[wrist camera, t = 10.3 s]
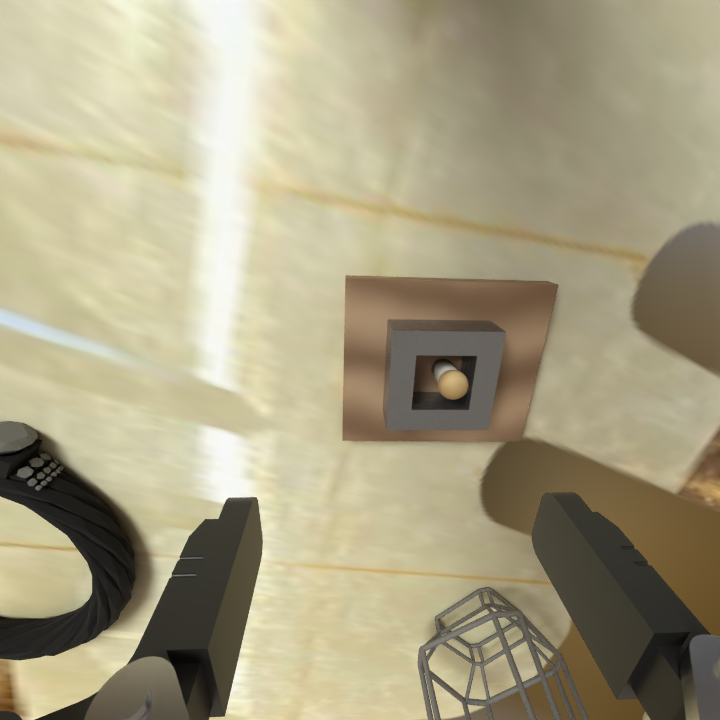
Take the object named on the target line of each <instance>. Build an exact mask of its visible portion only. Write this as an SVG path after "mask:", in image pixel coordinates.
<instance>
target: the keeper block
mask: <svg viewBox="0 0 720 720" xmlns="http://www.w3.org/2000/svg"><path fill="white" fill-rule="evenodd" d="M557 288H558V284H554V283H551V282H548V281H515V280H481V279H447V278H413V277H379V276H346V286H345V337H344V388H343V441H521V438H522V434H523V430H524V425H525V421H526V417H527V413H528V409H529V405H530V400H531V396H532V392H533V388H534V384H535V380H536V376H537V371H538V367H539V363H540V359H541V355H542V351H543V346H544V342H545V338H546V334H547V330H548V326H549V322H550V317H551V313H552V309H553V305H554V301H555V297H556V292H557ZM388 319H411V320H490V321H492V322H493V323H494V324H496V325H497V326H499V327H500V328H502V329H503V330H504V331H506V338H505V343H504V348H503V354H502V359H501V365H500V370H499V375H498V381H497V386H496V391H495V397H494V402H493V408H492V413H491V418H490V424H489V429H488V430H386V425H385V420H384V415H383V393H384V375H385V357H386V338H387V320H388ZM461 361H462V356H426V355H416V365H415V376H414V387H413V392H440V393H441V394H442V395H443V396H444V397H445V398H447V399H452V400H455V399H459V398H461V397H463V396H464V395H465V394H466V392H467V390H468V380H467V378H466V376H465V375H464V374H463V373H462V372H460V368H461Z"/></svg>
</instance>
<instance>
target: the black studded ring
mask: <svg viewBox="0 0 720 720" xmlns="http://www.w3.org/2000/svg"><path fill="white" fill-rule="evenodd" d="M37 438H38V435H37V432H36V430H35V429H33V428H31V427H30V426H28V425H26V424H23V423H19V422H12V421H6V422H0V496H1V497H3V498H6V499H9V500H11V501H14V502H17V503H19V504H22V505H24V506H26V507H27V508H29V509H31V510H32V511H34V512H35V513H37V514H38V515H40V516H41V517H42V518H44V519H45V520H47V521H48V522H49V523H51V524H52V525H54V526H55V527H56V528H58V529H59V530H61V531H62V532H63V533H65V534H66V535H67V536H68V537H69V538H70V540H71V541H72V542H73V544H74V545H75V546H76V548H77V549H78V550H79V552H80V553H81V554H82V556H83V557H84V558H85V560H86V561H87V563H88V565H89V568H90V571H91V573H92V595H91V597H90V599H89V600H88V601H87V602H86V603H85V604H84V605H83V606H82V607H81V608H79V609H77V610H75V611H73V612H70V613H67V614H64V615H60V616H57V617H54V618H49V619H23V620H14V619H7V618H4V617H0V659H10V660H25V659H32V658H39V657H43V656H55V655H57V654H60V653H62V652H65V651H67V650H69V649H72V648H74V647H77V646H79V645H80V644H84V643H87V642H89V641H91V640H92V639H94V638H96V637H97V636H98V635H99V634H100V633H101V632H102V631H103V630H106V629H108V628H109V627H110V626H111V625H112V624H113V623H114V622H115V621H117V620H118V618H119V615H120V612H121V611H122V610H123V608H124V607H125V606H126V604H127V603H128V601H129V600H130V599H131V590H132V588H133V585H134V582H135V572H134V564H133V562H134V552H133V550H132V547H131V545H130V542H129V540H128V539H127V537H126V536H125V535H124V534H123V531H122V529H121V527H120V525H119V523H118V521H117V518H116V516H115V515H114V514H113V512H112V511H111V510H110V509H109V508H108V507H107V505H106V504H104V503H103V502H101V501H100V500H99V499H98V498H97V497H96V496H94V495H93V494H92V493H91V492H90V491H89V490H88V489H87V488H86V487H85V486H84V485H83V484H82V483H81V482H79V481H77V480H75V479H73V478H71V477H70V476H68V475H66V474H64V473H62V472H61V471H62V470H63V469H64V467H63V466H61V465H60V466H59V467H58V468H57V469H55V468H56V466H57V465H58V464H60V463H59V462H58V461H57V460H55V459H54V460H53V461H52V462H50V463H49V464H47V462H49V461H50V460H51V457H50V455H48V454H46V453H40V455H39V456H37V457H35V458H34V455H35V454H36V452H37V450H38V449H39V447H40V445H41V443H42V441H43V440H40V439H37Z"/></svg>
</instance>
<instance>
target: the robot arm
mask: <svg viewBox="0 0 720 720" xmlns="http://www.w3.org/2000/svg"><path fill="white" fill-rule="evenodd" d="M532 543H533V547H534V550H535V553H536V555H537V557H538V559H539V561H540V563H541V564H542V566H543V568H544V570H545V572H546V573H547V575H548V577H549V579H550V581H551V582H552V584H553V586H554V588H555V589H556V591H557V593H558V595H559V597H560V598H561V600H562V602H563V604H564V606H565V607H566V609H567V611H568V613H569V615H570V616H571V618H572V620H573V622H574V624H575V625H576V627H577V629H578V631H579V632H580V634H581V636H582V638H583V640H584V641H585V643H586V645H587V647H588V649H589V650H590V652H591V654H592V656H593V658H594V659H595V661H596V663H597V665H598V666H599V668H600V670H601V672H602V674H603V676H604V677H605V679H606V681H607V683H608V685H609V686H610V688H611V690H612V692H613V694H614V695H615V697H616V699H617V700H620V699H638V700H639V701H640V703H641V705H642V706H643V708H644V710H645V711H646V712H645V713H644V716H643V720H720V637H717V636H713V635H711V634H710V633H709V632H708V631H707V630H706V629H705V628H704V626H703V625H702V624H701V623H700V622H699V621H698V619H697V618H696V617H695V616H694V615H693V614H692V612H691V611H690V610H689V609H688V608H687V607H686V606H685V604H684V603H683V602H682V601H681V600H680V599H679V597H678V596H677V595H676V594H675V593H674V592H673V590H672V589H671V588H670V587H669V586H668V585H667V583H666V582H665V581H664V580H663V579H662V578H661V576H660V575H659V574H658V573H657V572H656V571H655V570H654V568H653V567H652V566H649V565H648V563H647V561H646V559H645V558H644V557H643V556H642V555H641V554H640V552H639V551H638V550H635V548H634V545H633V544H632V543H631V542H630V540H629V539H628V538H627V537H626V536H625V535H624V534H623V532H622V531H621V530H620V529H619V528H618V527H617V526H616V525H614V524H613V523H612V522H610V521H609V520H608V519H606V518H605V517H604V516H602V515H601V514H600V513H598V512H592V511H591V510H590V508H589V507H588V506H587V505H586V504H585V502H584V501H583V500H582V499H581V498H580V496H579V495H577V494H576V493H573V492H568V493H567V492H563V493H545V494H544V495H543V496H542V499H541V503H540V507H539V510H538V513H537V516H536V520H535V523H534V527H533V530H532ZM262 544H263V540H262V530H261V522H260V514H259V506H258V500H257V498H256V497H247V498H228V499H227V500H226V502H225V504H224V506H223V509H222V512H221V514H220V517H219V519H205V520H204V521H203V522H202V523H201V524H200V526H199V527H198V528H197V529H196V530H195V531H194V532H193V533H192V534H191V535H190V536H189V538H188V540H187V542H186V544H185V547H184V549H183V551H182V553H181V555H180V560H179V561H178V562H177V564H176V566H175V568H174V570H173V572H172V577H171V578H170V579H169V581H168V583H167V585H166V587H165V590H164V592H163V594H162V596H161V598H160V600H159V602H158V605H157V607H156V609H155V611H154V613H153V615H152V617H151V620H150V622H149V624H148V626H147V628H146V630H145V632H144V635H143V637H142V639H141V641H140V643H139V645H138V647H137V649H136V651H135V653H134V655H133V656H132V658H131V659H130V661H129V662H128V664H127V665H126V666H124V667H123V668H122V669H120V670H119V671H118V672H116V673H115V674H114V675H113V676H112V677H111V678H110V679H109V680H108V681H107V682H106V683H105V684H104V685H103V686H102V688H101V689H100V690H99V691H98V692H97V693H95V694H93V695H92V696H90V697H88V698H87V699H84V700H82V701H80V702H78V703H75V704H73V705H70V706H68V707H65V708H63V709H60V710H58V711H55V712H53V713H50V714H48V715H45V716H43V717H40V718H38V719H35V720H209V717H223V716H225V713H226V709H227V704H228V700H229V696H230V691H231V687H232V683H233V678H234V674H235V670H236V666H237V661H238V657H239V653H240V648H241V644H242V640H243V635H244V631H245V627H246V622H247V618H248V614H249V609H250V605H251V601H252V596H253V592H254V588H255V583H256V579H257V575H258V571H259V566H260V562H261V556H262ZM0 720H22V719H21V717H20V716H19V715H17V714H16V713H14V712H10V711H0Z"/></svg>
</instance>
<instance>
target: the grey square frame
mask: <svg viewBox="0 0 720 720" xmlns="http://www.w3.org/2000/svg"><path fill="white" fill-rule="evenodd" d="M505 338H506V331H504V330H503V329H502V328H500V327H499V326H497V325H496V324H494V323H493V322H492V321H490V320H411V319H388V320H387V338H386V357H385V375H384V393H383V415H384V420H385V425H386V430H488V429H489V424H490V418H491V413H492V408H493V402H494V397H495V391H496V386H497V381H498V375H499V370H500V365H501V359H502V354H503V348H504V343H505ZM416 355H426V356H462V361H461V368H460V372H462V373H463V374H464V375H465V376H466V378H467V380H468V390H467V392H466V394H465V395H464V396H463V397H461V398H459V399H455V400H452V399H447V398H445V397H444V396H443V395H442V394H441V393H440V392H413V387H414V376H415V365H416Z"/></svg>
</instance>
